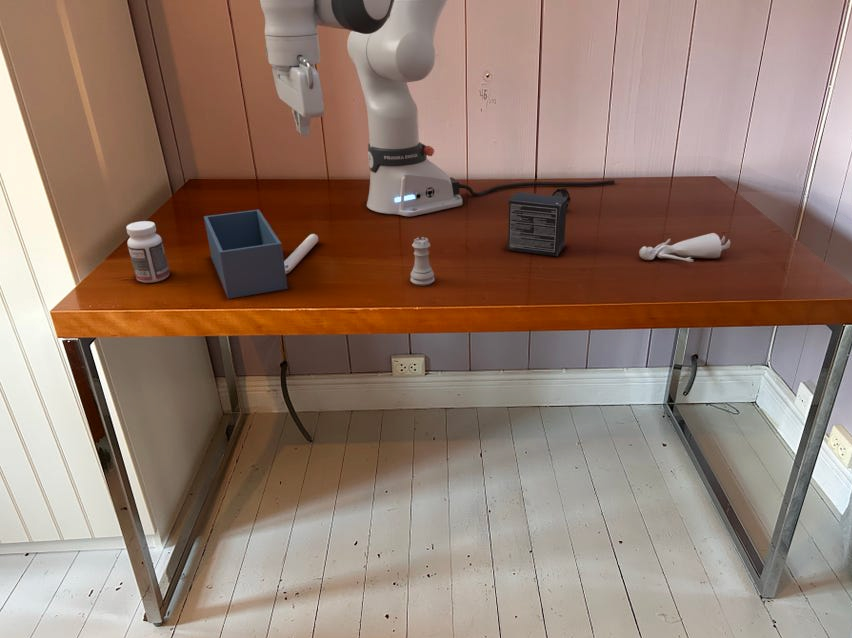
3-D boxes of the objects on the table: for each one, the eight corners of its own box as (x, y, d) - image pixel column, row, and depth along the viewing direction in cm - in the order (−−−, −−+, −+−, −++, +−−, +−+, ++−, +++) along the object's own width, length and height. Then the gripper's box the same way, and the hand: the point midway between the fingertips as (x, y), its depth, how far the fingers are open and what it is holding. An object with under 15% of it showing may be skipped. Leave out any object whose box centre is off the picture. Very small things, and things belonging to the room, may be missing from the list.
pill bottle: (166, 269, 135) (154, 217, 130) (173, 279, 131) (161, 227, 126) (133, 275, 132) (120, 223, 127) (139, 286, 128) (126, 232, 123)
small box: (565, 246, 147) (569, 195, 142) (557, 257, 142) (561, 205, 136) (515, 239, 150) (517, 190, 145) (506, 250, 145) (507, 199, 139)
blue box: (265, 250, 143) (259, 209, 139) (287, 288, 128) (281, 243, 123) (211, 258, 140) (203, 216, 135) (228, 298, 124) (219, 252, 120)
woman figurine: (742, 243, 136) (650, 254, 134) (739, 264, 139) (649, 276, 137) (715, 222, 146) (629, 232, 144) (712, 243, 148) (628, 253, 147)
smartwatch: (568, 207, 169) (569, 186, 167) (569, 214, 165) (571, 192, 162) (550, 206, 169) (551, 185, 167) (551, 213, 165) (553, 192, 162)
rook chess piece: (414, 288, 128) (413, 245, 124) (406, 278, 132) (405, 237, 128) (438, 284, 130) (437, 242, 126) (429, 275, 133) (428, 233, 129)
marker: (287, 278, 132) (285, 266, 131) (276, 277, 132) (274, 265, 131) (319, 243, 147) (317, 232, 146) (309, 243, 147) (308, 232, 146)
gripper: (328, 58, 118) (337, 144, 125) (297, 44, 133) (307, 121, 140) (289, 61, 115) (300, 148, 122) (263, 46, 131) (274, 124, 138)
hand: (303, 134), depth 131 cm, fingers closed
